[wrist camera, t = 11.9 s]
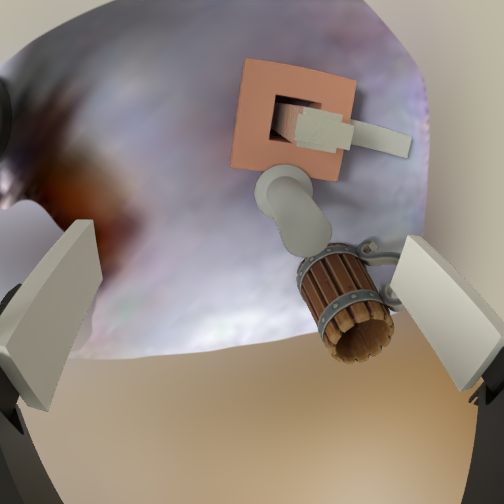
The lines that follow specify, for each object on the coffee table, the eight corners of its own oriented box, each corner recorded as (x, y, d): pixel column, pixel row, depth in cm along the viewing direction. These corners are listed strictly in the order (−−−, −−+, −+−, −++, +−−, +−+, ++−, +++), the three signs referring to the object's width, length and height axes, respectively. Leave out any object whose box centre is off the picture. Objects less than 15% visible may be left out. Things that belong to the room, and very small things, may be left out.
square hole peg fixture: (225, 198, 38) (226, 264, 24) (243, 63, 30) (256, 37, 16) (378, 217, 41) (439, 278, 27) (406, 102, 33) (490, 120, 19)
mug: (322, 309, 48) (349, 380, 35) (280, 274, 44) (301, 349, 31) (395, 248, 44) (445, 307, 31) (361, 203, 40) (417, 257, 27)
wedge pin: (266, 127, 34) (292, 148, 21) (270, 101, 32) (299, 105, 19) (301, 132, 34) (347, 158, 21) (305, 108, 33) (356, 118, 20)
